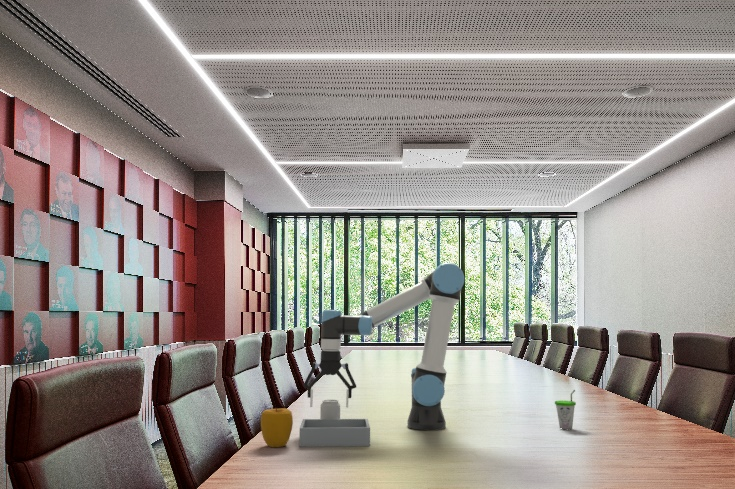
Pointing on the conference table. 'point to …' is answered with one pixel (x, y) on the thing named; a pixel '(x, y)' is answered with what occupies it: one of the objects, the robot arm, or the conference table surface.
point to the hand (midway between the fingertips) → (329, 406)
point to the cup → (565, 413)
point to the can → (330, 409)
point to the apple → (276, 426)
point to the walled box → (334, 432)
